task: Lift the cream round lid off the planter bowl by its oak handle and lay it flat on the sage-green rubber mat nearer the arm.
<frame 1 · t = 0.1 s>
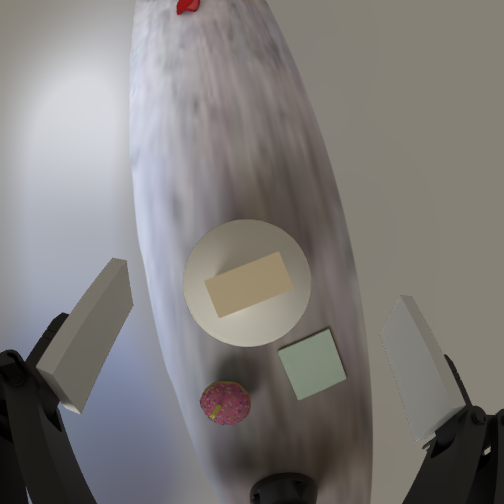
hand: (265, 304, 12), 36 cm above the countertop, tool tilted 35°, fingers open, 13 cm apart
cap: (188, 10, 55), on the countertop
lid: (247, 283, 37), point 11 cm above the countertop, touching planter bowl
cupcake: (227, 392, 46), on the countertop
mat: (313, 365, 47), on the countertop
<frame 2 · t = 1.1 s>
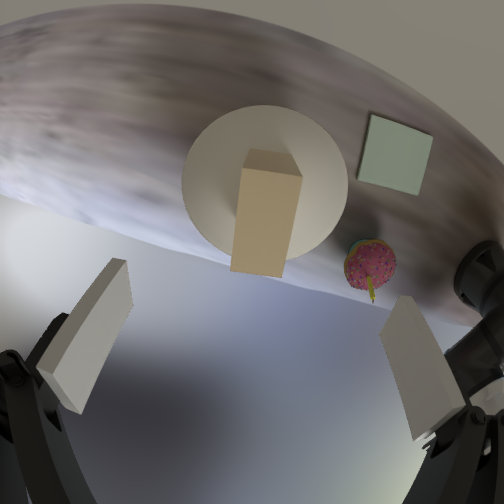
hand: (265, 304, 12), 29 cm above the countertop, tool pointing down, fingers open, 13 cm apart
lid: (264, 186, 28), point 11 cm above the countertop, touching planter bowl
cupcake: (362, 250, 44), on the countertop
mat: (396, 156, 35), on the countertop
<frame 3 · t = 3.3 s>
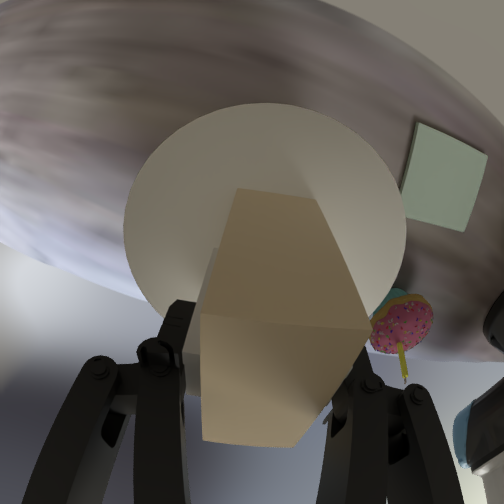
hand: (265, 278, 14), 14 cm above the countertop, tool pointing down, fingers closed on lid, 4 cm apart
lid: (265, 250, 17), point 11 cm above the countertop, touching gripper
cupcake: (389, 300, 32), on the countertop
mat: (444, 181, 24), on the countertop
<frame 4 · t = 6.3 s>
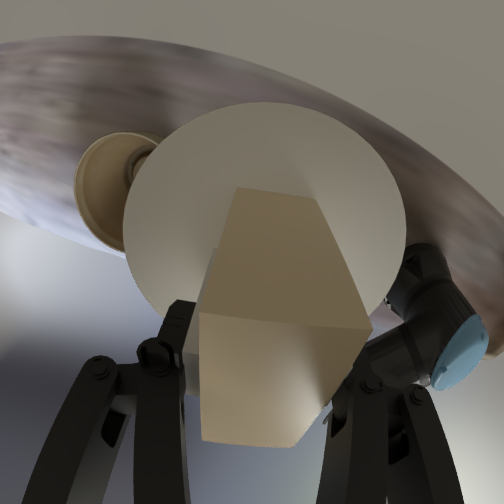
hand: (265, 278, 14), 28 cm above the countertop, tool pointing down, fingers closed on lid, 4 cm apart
lid: (264, 250, 17), point 25 cm above the countertop, touching gripper
planter bowl: (154, 173, 40), on the countertop
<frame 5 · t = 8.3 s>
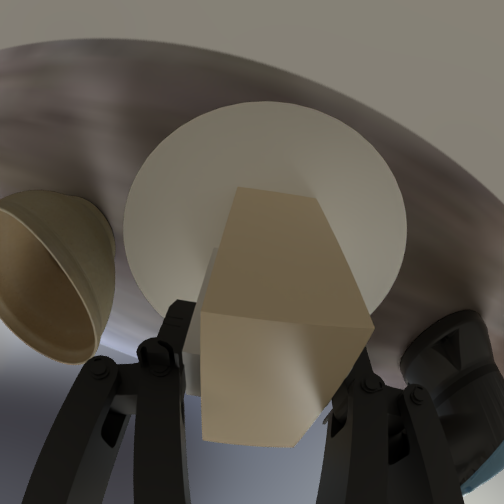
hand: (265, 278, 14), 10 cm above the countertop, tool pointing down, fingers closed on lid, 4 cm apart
lid: (265, 249, 17), point 8 cm above the countertop, touching gripper
planter bowl: (80, 235, 26), on the countertop
when the fingers open (5 cm above the countertop, at t = 9.6 s): lid drops 2 cm, resting on mat.
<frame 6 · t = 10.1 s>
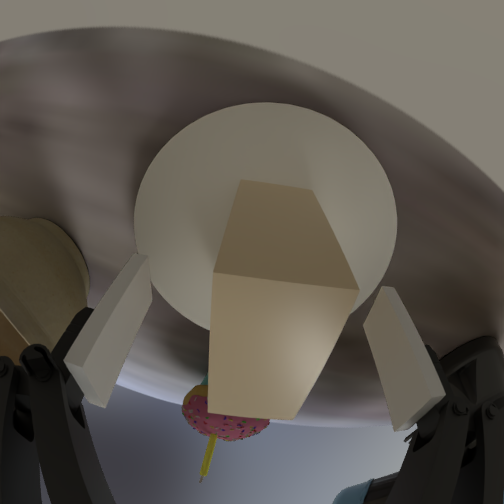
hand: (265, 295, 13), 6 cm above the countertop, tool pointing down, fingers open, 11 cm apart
lid: (265, 238, 18), point 1 cm above the countertop, touching mat
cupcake: (230, 374, 27), on the countertop
planter bowl: (52, 261, 21), on the countertop
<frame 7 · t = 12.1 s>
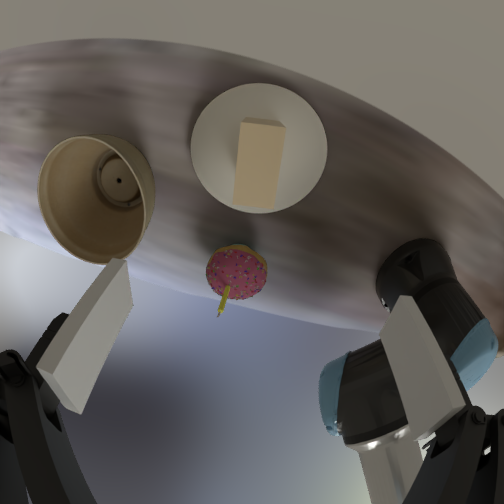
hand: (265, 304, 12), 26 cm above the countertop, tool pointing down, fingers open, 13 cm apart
lid: (258, 148, 33), point 1 cm above the countertop, touching mat
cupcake: (238, 255, 43), on the countertop
planter bowl: (123, 177, 36), on the countertop
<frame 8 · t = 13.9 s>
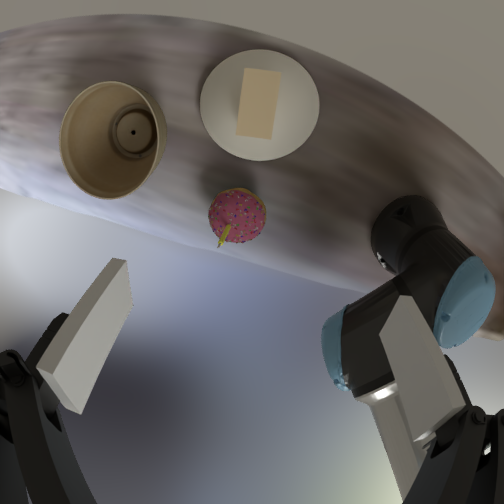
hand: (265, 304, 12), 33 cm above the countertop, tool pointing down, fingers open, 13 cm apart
lid: (259, 104, 36), point 1 cm above the countertop, touching mat
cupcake: (239, 204, 45), on the countertop
planter bowl: (137, 131, 39), on the countertop
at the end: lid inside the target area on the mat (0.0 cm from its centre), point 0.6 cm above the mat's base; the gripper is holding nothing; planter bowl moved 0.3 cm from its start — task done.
